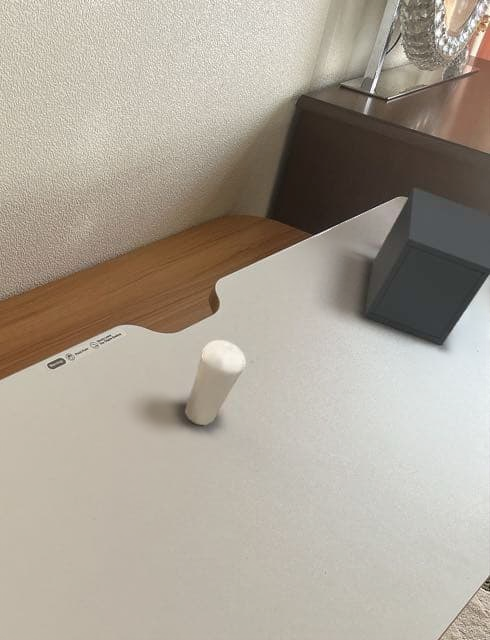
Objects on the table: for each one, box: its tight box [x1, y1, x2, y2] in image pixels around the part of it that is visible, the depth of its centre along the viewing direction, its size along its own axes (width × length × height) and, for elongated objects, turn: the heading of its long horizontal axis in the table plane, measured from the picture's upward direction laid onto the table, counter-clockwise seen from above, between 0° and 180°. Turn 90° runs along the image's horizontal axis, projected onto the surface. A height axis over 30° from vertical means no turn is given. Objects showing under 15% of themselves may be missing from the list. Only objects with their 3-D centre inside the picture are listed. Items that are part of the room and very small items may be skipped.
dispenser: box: [364, 186, 490, 346], centre depth 114 cm, size 14×11×12 cm
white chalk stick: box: [184, 339, 259, 426], centre depth 91 cm, size 4×5×10 cm
